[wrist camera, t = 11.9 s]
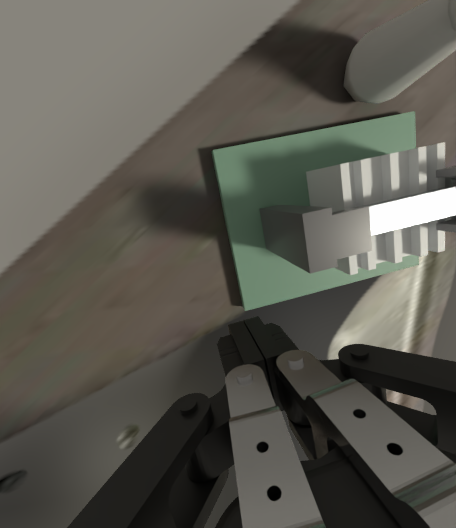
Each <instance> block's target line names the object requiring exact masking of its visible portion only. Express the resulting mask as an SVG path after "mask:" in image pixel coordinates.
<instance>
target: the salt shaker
mask: <svg viewBox="0 0 456 528" xmlns="http://www.w3.org/2000/svg"><path fill="white" fill-rule="evenodd" d="M455 50H456V0H428V1H426V2H424V3H422V4H420V5H419V6H417V7H415V8H413V9H411V10H409V11H407V12H405V13H403V14H402V15H400V16H398V17H396V18H394V19H392V20H390V21H388V22H386V23H385V24H383V25H381V26H379V27H377V28H375V29H373V30H371V31H369V32H368V33H366V34H365V35H364V36H363V37H362V39H361V40H360V41H359V42H358V43H357V44H356V45H355V47H354V48H353V49H352V52H351V54H350V57H349V59H348V62H347V64H346V70H345V77H344V84H343V86H344V87H345V89H346V90H347V91H348V93H349V94H350V95H351V97H352V98H353V99H354V101H360V102H367V103H374V104H378V103H382V102H384V101H387V100H389V99H392V98H394V97H395V96H397V95H398V94H399V93H400V92H402V91H403V90H404V89H406V88H407V87H408V86H410V85H411V84H412V83H413V82H415V81H416V80H417V79H419V78H420V77H421V76H423V75H424V74H425V73H427V72H428V71H429V70H430V69H432V68H433V67H434V66H436V65H437V64H438V63H440V62H441V61H442V60H443V59H445V58H446V57H447V56H449V55H450V54H451V53H453V52H454V51H455Z"/></svg>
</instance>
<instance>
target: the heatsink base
mask: <svg viewBox="0 0 456 528" xmlns="http://www.w3.org/2000/svg"><path fill="white" fill-rule="evenodd" d="M211 153H212V158H213V163H214V168H215V173H216V178H217V183H218V188H219V192H220V197H221V202H222V207H223V212H224V217H225V222H226V227H227V232H228V236H229V241H230V246H231V251H232V256H233V261H234V266H235V271H236V276H237V280H238V285H239V290H240V295H241V300H242V305H243V308H244V309H245V311H247V310H251V309H255V308H258V307H262V306H266V305H269V304H273V303H277V302H281V301H285V300H288V299H292V298H296V297H300V296H303V295H307V294H311V293H314V292H318V291H322V290H326V289H329V288H333V287H337V286H341V285H344V284H348V283H352V282H356V281H360V280H364V279H367V278H371V277H375V276H378V275H382V274H386V273H390V272H394V271H397V270H401V269H405V268H409V267H412V266H416V265H419V257H422V256H426V255H428V250H429V251H434V252H441V251H445V231H449V232H456V219H451V216H449V217H445V218H441V219H437V220H433V221H429V222H425V223H421V224H416V225H412V226H408V227H404V228H400V229H396V230H392V231H388V232H384V233H380V234H376V235H372V236H371V241H372V251H369V252H365V253H361V254H357V255H353V256H349V257H345V258H341V259H337V264H338V267H334V268H330V269H327V270H323V271H319V272H315V273H311V274H310V273H308V272H306V271H304V270H303V269H301V268H299V267H297V266H296V265H294V264H292V263H290V262H288V261H287V260H285V259H283V258H281V257H280V256H278V255H276V254H274V253H272V252H271V251H269V250H267V249H266V244H265V239H264V233H263V227H262V221H261V215H260V209H262V208H266V207H271V206H275V205H296V206H316V207H332V212H337V211H341V210H345V209H350V208H354V207H358V206H364V205H369V204H373V203H377V202H382V201H386V200H390V199H395V198H399V197H403V196H408V195H412V194H416V193H421V192H425V191H429V190H434V189H438V188H442V187H447V186H451V179H453V178H456V166H452V167H448V168H445V142H444V143H439V144H434V145H430V146H425V147H420V148H416V132H415V111H414V112H409V113H403V114H398V115H393V116H388V117H382V118H377V119H372V120H367V121H362V122H356V123H351V124H346V125H341V126H336V127H330V128H325V129H320V130H315V131H310V132H304V133H299V134H294V135H289V136H284V137H278V138H273V139H268V140H263V141H257V142H252V143H247V144H242V145H237V146H231V147H226V148H221V149H216V150H213V151H212V152H211ZM445 220H447V221H445Z"/></svg>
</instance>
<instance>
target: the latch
mask: <svg viewBox="0 0 456 528" xmlns="http://www.w3.org/2000/svg"><path fill="white" fill-rule="evenodd" d="M260 215H261V221H262V227H263V233H264V239H265V244H266V249H267V250H269V251H271V252H272V253H274V254H276V255H278V256H280V257H281V258H283V259H285V260H287V261H288V262H290V263H292V264H294V265H296V266H297V267H299V268H301V269H303V270H304V271H306V272H308V273H310V274H311V273H315V272H319V271H323V270H327V269H330V268H334V267H338V264H337V259H341V258H345V257H349V256H353V255H357V254H361V253H365V252H369V251H372V241H371V226H370V212H369V207H368V206H358V207H354V208H350V209H345V210H341V211H337V212H332V207H316V206H296V205H275V206H271V207H266V208H262V209H260Z"/></svg>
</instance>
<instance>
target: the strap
mask: <svg viewBox="0 0 456 528" xmlns="http://www.w3.org/2000/svg"><path fill="white" fill-rule="evenodd" d="M364 206H368V207H369V212H370V226H371V236H372V235H376V234H380V233H384V232H388V231H392V230H396V229H400V228H404V227H408V226H412V225H416V224H421V223H425V222H429V221H433V220H437V219H441V218H445V217H449V216H451V219H456V178H453V179H451V186H447V187H442V188H438V189H434V190H429V191H425V192H421V193H416V194H412V195H408V196H403V197H399V198H395V199H390V200H386V201H382V202H377V203H373V204H369V205H364Z"/></svg>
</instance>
